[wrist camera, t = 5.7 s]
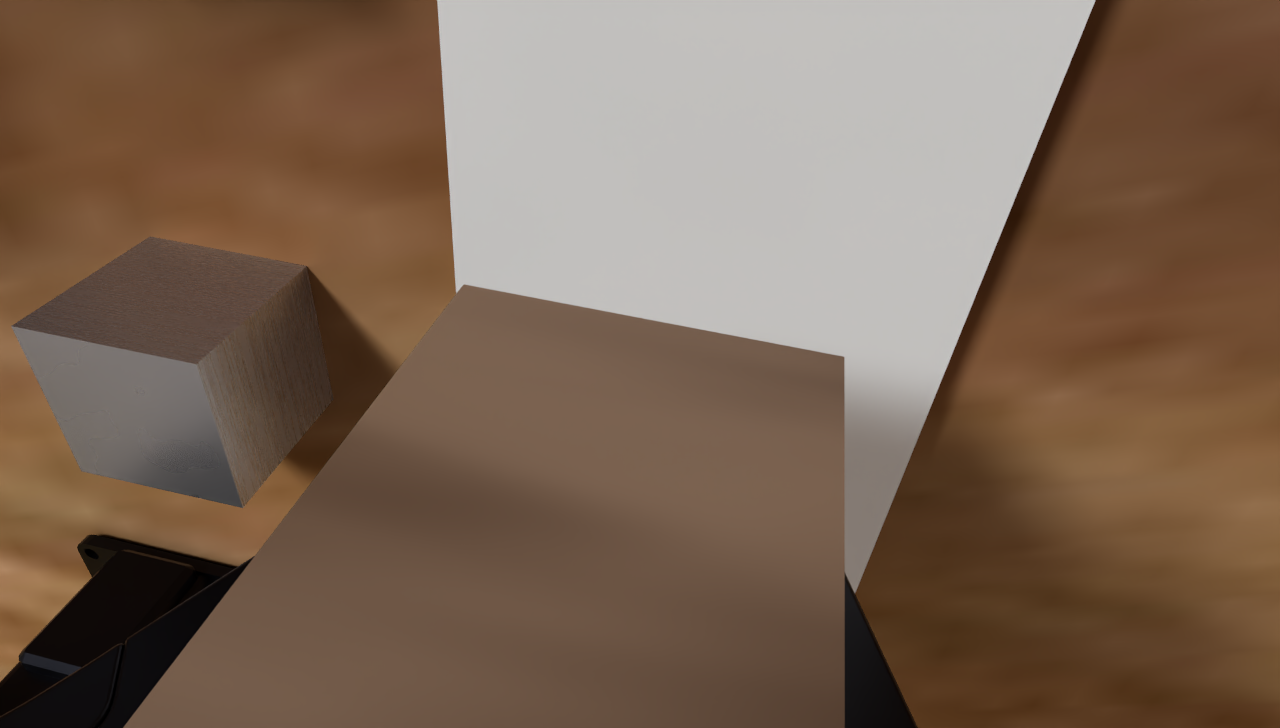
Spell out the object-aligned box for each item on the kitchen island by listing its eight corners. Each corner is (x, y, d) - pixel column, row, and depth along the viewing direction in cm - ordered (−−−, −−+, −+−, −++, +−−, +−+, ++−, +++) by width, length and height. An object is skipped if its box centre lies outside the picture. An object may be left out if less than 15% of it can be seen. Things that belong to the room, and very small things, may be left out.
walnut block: (769, 602, 12) (718, 1168, 7) (477, 536, 12) (240, 1020, 7) (844, 356, 9) (845, 1012, 4) (463, 283, 9) (72, 792, 5)
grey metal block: (335, 397, 21) (243, 508, 17) (195, 368, 21) (81, 470, 18) (308, 264, 18) (196, 364, 15) (152, 235, 19) (11, 325, 16)
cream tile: (839, 605, 21) (839, 630, 20) (483, 524, 22) (472, 545, 22) (1260, -465, 9) (1292, -485, 8) (430, -523, 10) (402, -542, 9)
